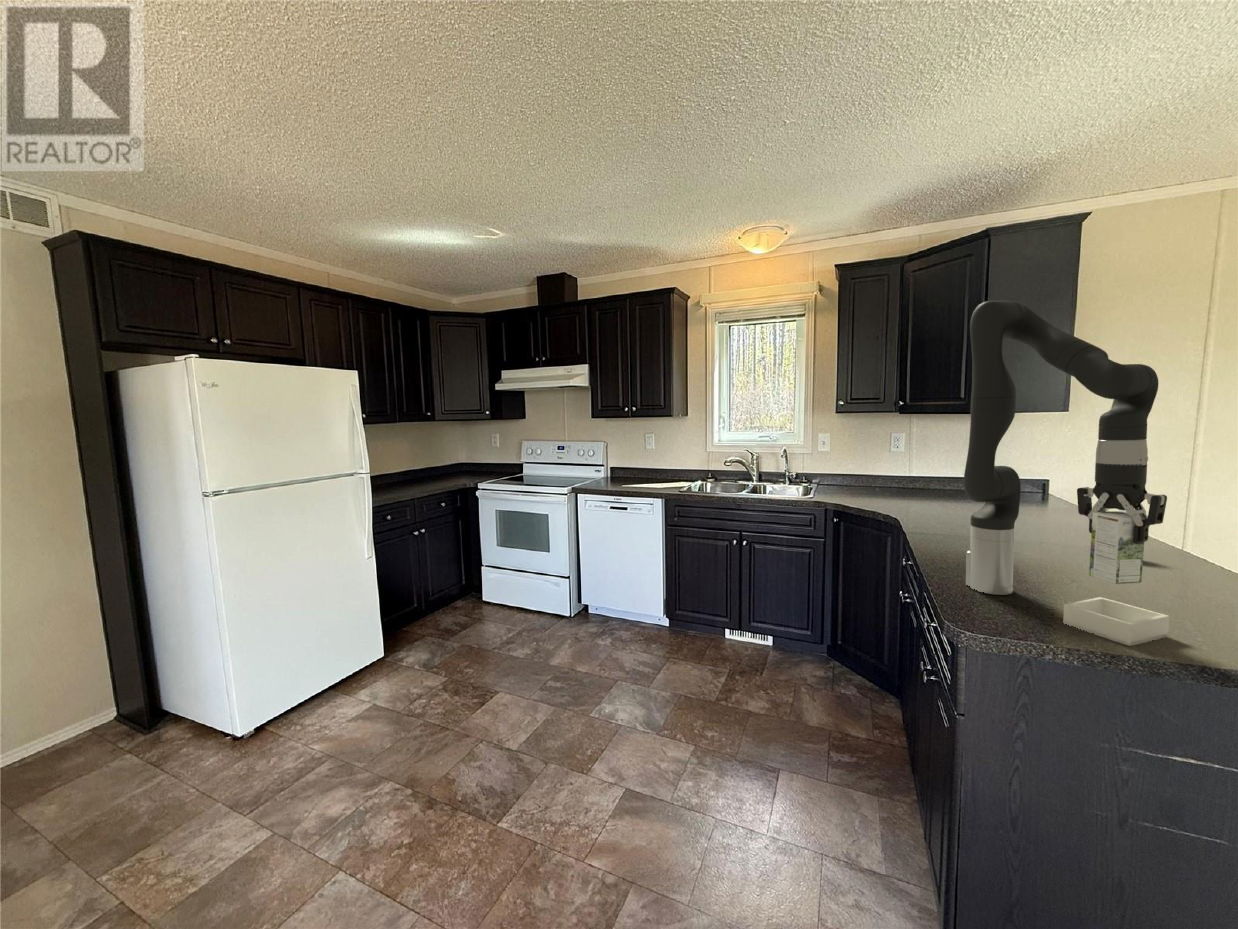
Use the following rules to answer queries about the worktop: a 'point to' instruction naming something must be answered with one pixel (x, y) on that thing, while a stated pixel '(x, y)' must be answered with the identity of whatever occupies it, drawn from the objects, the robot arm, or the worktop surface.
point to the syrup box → (1115, 548)
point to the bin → (1116, 621)
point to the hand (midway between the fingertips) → (1117, 539)
